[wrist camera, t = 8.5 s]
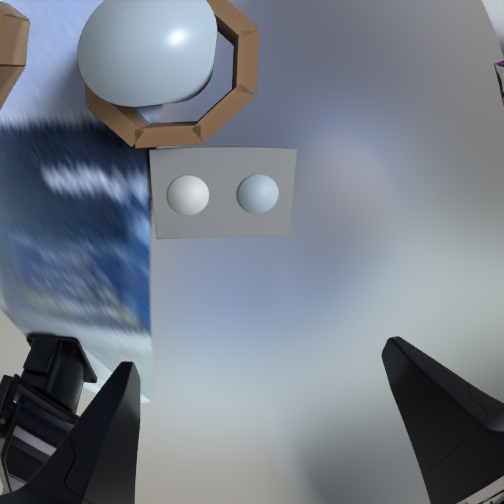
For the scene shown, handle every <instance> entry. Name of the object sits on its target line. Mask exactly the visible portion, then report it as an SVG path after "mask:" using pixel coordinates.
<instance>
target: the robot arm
mask: <svg viewBox="0 0 504 504" xmlns="http://www.w3.org/2000/svg"><path fill="white" fill-rule="evenodd" d="M26 339H27V342H28V343H29V345H30V347H31V350H30V352H29V354H28V357H27V359H26V361H25V363H24V366H23V368H24V371H23V373H22V375H21V378H20V376H19V375H17V374H15V375H14V376H13V377H11V376H7V375H4V376H3V378H2V380H1V383H0V479H1V482H2V484H3V493H2V495H0V504H134V501H135V479H136V464H137V450H138V439H139V430H140V377H139V374H138V371H137V369H136V366H135V364H134V363H133V362H125V361H124V362H121V363H120V364H119V366H118V367H117V368H116V369H115V371H114V372H113V373H112V375H111V376H110V377H109V379H108V380H107V381H106V383H105V384H104V385H103V387H102V388H101V389H100V391H99V392H98V393H97V395H96V396H95V397H94V399H93V400H92V401H91V403H90V404H89V405H88V407H87V408H86V409H85V411H84V412H83V413H82V415H81V416H78V415H76V411H77V407H78V403H79V398H80V395H81V391H82V387H83V383H84V382H88V383H96V382H97V377H96V375H95V373H94V371H93V369H92V367H91V365H90V363H89V361H88V359H87V357H86V355H85V353H84V351H83V349H82V347H81V344H80V342H79V341H78V340H77V339H75V338H64V337H52V336H41V335H32V334H28V336H27V338H26ZM382 360H383V364H384V367H385V370H386V374H387V377H388V380H389V384H390V387H391V391H392V393H393V396H394V398H395V400H396V403H397V405H398V408H399V411H400V414H401V416H402V419H403V422H404V424H405V427H406V430H407V432H408V435H409V438H410V441H411V443H412V446H413V449H414V452H415V455H416V458H417V461H418V464H419V467H420V470H421V473H422V476H423V479H424V483H425V486H426V489H427V492H428V496H429V499H430V503H431V504H456V503H458V502H460V501H462V500H464V499H466V501H467V502H466V503H465V504H504V403H502V402H500V401H499V400H497V399H495V398H493V397H491V396H489V395H488V394H486V393H484V392H482V391H481V390H479V389H478V388H476V387H474V386H473V385H472V384H470V383H468V382H466V381H465V380H464V379H463V378H461V377H460V376H458V375H457V374H455V373H453V372H452V371H451V370H449V369H448V368H446V367H444V366H443V365H442V364H440V363H439V362H437V361H436V360H434V359H433V358H431V357H429V356H428V355H426V354H425V353H423V352H422V351H420V350H419V349H417V348H416V347H414V346H413V345H411V344H410V343H408V342H407V341H405V340H403V339H402V338H401V337H399V336H396V337H391V338H389V339H388V340H387V343H386V345H385V347H384V349H383V351H382ZM13 401H16V403H15V402H13Z"/></svg>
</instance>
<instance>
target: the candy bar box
mask: <svg viewBox="0 0 504 504" xmlns="http://www.w3.org/2000/svg"><path fill="white" fill-rule="evenodd" d="M494 66H495V70H496V74H497V78H498V82H499V86H500V91H501V96H502V101H503V105H504V61H502V62H498V63H495V64H494Z"/></svg>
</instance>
